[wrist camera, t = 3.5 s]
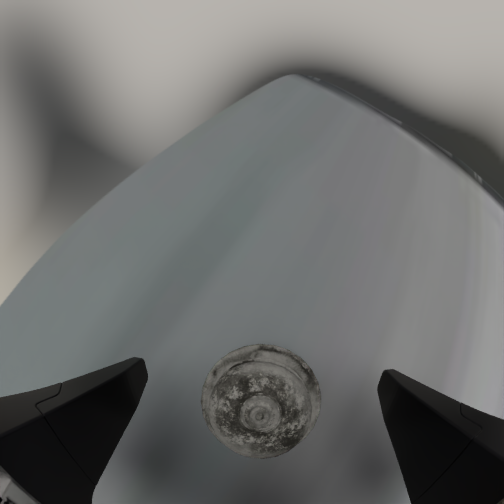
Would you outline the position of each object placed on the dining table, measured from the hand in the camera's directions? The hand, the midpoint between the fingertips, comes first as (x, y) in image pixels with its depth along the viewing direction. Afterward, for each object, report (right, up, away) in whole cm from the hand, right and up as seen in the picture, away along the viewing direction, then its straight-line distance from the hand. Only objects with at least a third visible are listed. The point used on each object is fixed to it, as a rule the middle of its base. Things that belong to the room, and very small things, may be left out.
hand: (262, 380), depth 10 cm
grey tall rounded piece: (0, -4, +7) cm, 8 cm away
